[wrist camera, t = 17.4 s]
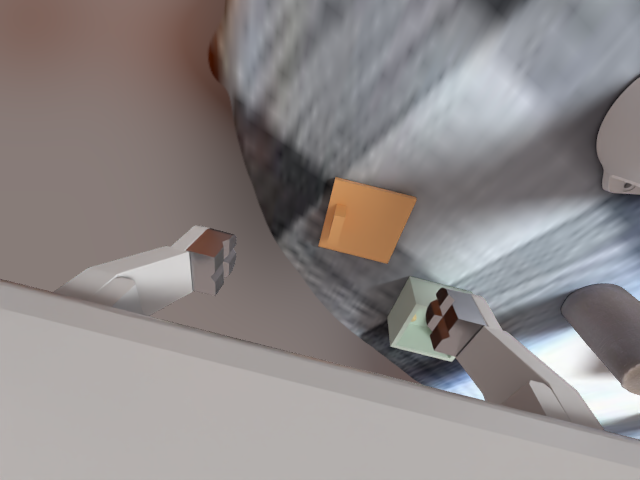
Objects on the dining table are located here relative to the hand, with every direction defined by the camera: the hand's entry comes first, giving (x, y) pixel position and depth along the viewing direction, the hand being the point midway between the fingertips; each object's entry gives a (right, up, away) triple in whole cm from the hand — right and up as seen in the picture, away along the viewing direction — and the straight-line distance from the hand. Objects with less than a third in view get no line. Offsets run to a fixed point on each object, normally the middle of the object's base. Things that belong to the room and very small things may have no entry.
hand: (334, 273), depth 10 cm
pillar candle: (+48, -10, +36) cm, 61 cm away
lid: (+7, +5, +33) cm, 35 cm away
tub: (+21, -12, +41) cm, 48 cm away
